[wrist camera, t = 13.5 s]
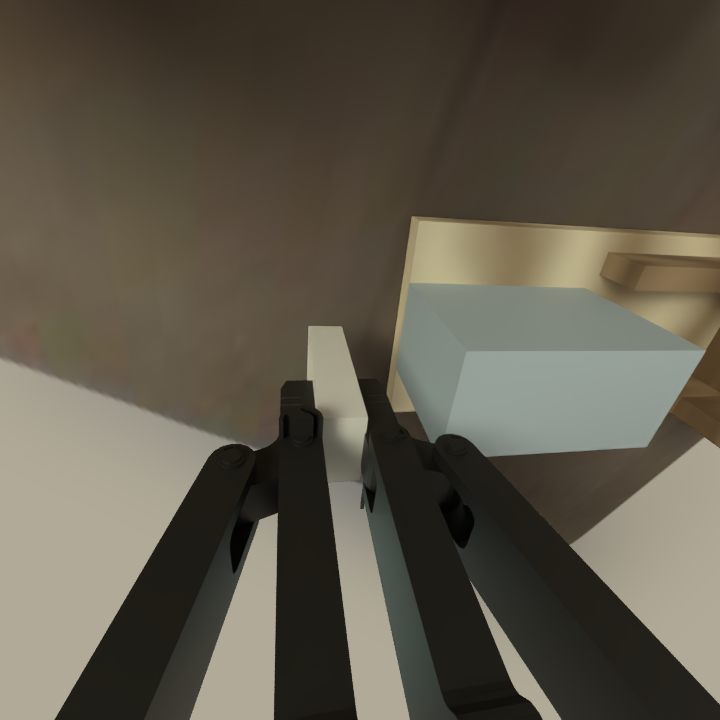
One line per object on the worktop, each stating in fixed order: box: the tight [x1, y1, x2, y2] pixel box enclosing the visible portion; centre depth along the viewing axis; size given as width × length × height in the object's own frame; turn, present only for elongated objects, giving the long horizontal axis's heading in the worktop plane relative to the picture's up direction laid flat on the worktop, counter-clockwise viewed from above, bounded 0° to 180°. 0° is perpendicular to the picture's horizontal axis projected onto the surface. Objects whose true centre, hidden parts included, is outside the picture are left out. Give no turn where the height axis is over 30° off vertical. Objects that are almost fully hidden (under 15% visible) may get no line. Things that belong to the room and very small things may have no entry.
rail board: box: [386, 216, 720, 448], centre depth 19 cm, size 22×11×10 cm, turn 85°
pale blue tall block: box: [396, 283, 706, 457], centre depth 18 cm, size 10×5×7 cm, turn 85°
